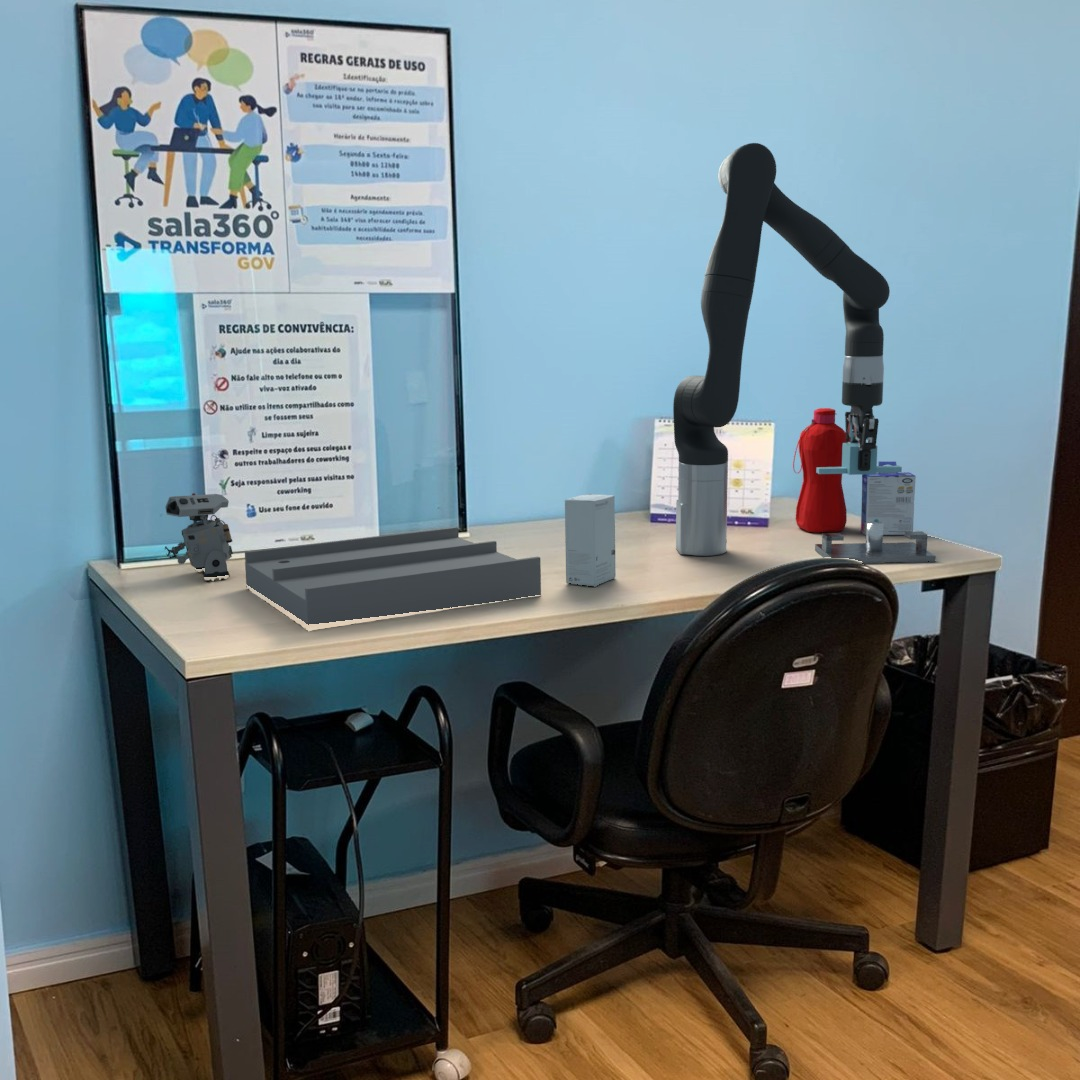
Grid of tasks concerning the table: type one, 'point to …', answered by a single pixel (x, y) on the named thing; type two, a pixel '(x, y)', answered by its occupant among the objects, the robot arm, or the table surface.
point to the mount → (877, 547)
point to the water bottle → (821, 475)
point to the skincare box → (590, 539)
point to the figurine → (202, 533)
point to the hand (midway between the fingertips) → (859, 468)
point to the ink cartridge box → (888, 501)
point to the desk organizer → (388, 575)
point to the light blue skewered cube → (856, 463)
